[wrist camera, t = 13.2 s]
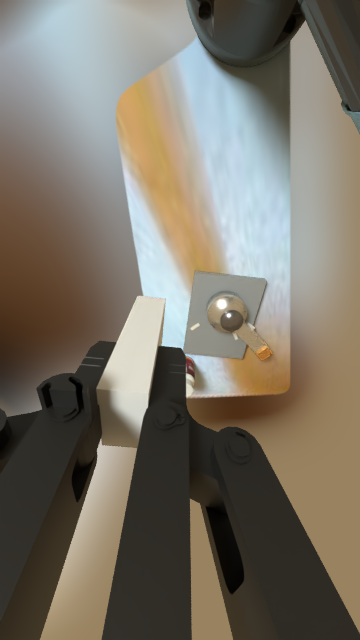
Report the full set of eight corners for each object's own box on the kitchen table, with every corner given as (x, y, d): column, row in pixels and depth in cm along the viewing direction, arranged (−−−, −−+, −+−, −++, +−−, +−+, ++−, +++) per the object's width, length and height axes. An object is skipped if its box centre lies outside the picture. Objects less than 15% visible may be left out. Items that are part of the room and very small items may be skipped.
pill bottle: (195, 368, 53) (197, 396, 46) (176, 372, 54) (175, 400, 46) (191, 353, 51) (192, 380, 44) (170, 357, 52) (168, 384, 44)
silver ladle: (198, 307, 43) (199, 316, 40) (227, 283, 41) (231, 291, 37) (248, 356, 49) (253, 368, 45) (277, 338, 46) (284, 349, 43)
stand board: (194, 270, 41) (195, 273, 40) (267, 278, 42) (270, 282, 40) (183, 349, 50) (183, 354, 49) (243, 355, 51) (245, 360, 49)
